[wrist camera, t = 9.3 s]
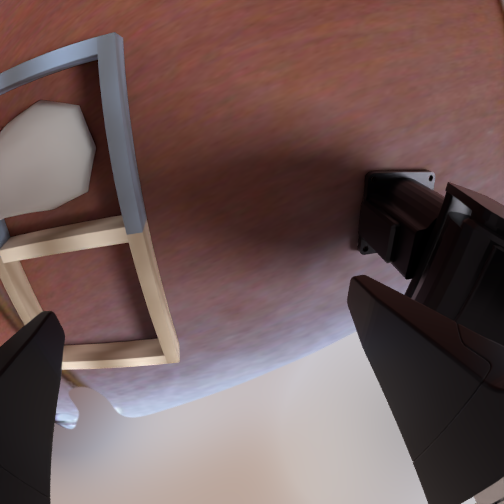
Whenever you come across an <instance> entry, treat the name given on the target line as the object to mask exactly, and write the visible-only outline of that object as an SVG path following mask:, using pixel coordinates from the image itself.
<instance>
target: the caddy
mask: <svg viewBox="0 0 504 504" xmlns="http://www.w3.org/2000/svg"><path fill="white" fill-rule="evenodd" d="M95 60H98V67H99V79H100V89H101V98H102V107H103V115H104V122H105V129H106V136H107V142H108V148H109V154H110V160H111V165H112V171H113V176H114V181H115V186H116V191H117V195H118V200H119V205H120V209H121V213H122V215H120V216H114V217H108V218H103V219H97V220H92V221H86V222H81V223H76V224H70V225H65V226H60V227H55V228H50V229H46V230H41V231H36V232H31V233H27V234H22V235H18V236H13V237H10V234H9V232H8V229H7V226H6V223H5V220H4V219H2V220H0V278H1V281H2V283H3V285H4V287H5V289H6V291H7V293H8V295H9V297H10V299H11V301H12V303H13V305H14V307H15V308H16V310H17V312H18V314H19V316H20V318H21V319H22V321H23V323H24V325H26V324H27V323H28V322H30V321H31V320H32V319H33V318H34V317H36V316H37V315H38V314H39V313H41V312H43V310H42V308H41V306H40V304H39V302H38V300H37V298H36V296H35V294H34V292H33V290H32V288H31V286H30V284H29V281H28V279H27V277H26V275H25V272H24V270H23V268H22V265H21V263H20V260H24V259H30V258H36V257H42V256H47V255H53V254H59V253H65V252H71V251H77V250H83V249H90V248H96V247H102V246H108V245H115V244H121V243H128V242H129V246H130V249H131V253H132V257H133V260H134V264H135V268H136V271H137V275H138V278H139V281H140V285H141V288H142V291H143V294H144V298H145V301H146V304H147V307H148V310H149V313H150V316H151V319H152V322H153V325H154V328H155V331H156V334H157V337H158V338H157V339H147V340H137V341H126V342H114V343H100V344H85V345H66V346H64V350H63V360H62V369H99V368H118V367H133V366H146V365H158V364H168V363H177V362H180V360H179V342H178V339H177V336H176V332H175V329H174V325H173V322H172V319H171V315H170V311H169V308H168V304H167V301H166V297H165V293H164V289H163V286H162V282H161V278H160V274H159V270H158V266H157V262H156V257H155V253H154V249H153V245H152V240H151V236H150V231H149V226H148V222H147V217H146V212H145V207H144V202H143V197H142V191H141V186H140V180H139V174H138V169H137V163H136V156H135V150H134V143H133V136H132V129H131V121H130V113H129V105H128V96H127V86H126V75H125V63H124V48H123V38H122V37H121V36H119V35H118V34H117V33H115V32H114V33H110V34H106V35H102V36H98V37H95V38H91V39H88V40H84V41H81V42H78V43H75V44H72V45H69V46H66V47H63V48H60V49H57V50H54V51H52V52H49V53H46V54H44V55H41V56H39V57H36V58H34V59H31V60H29V61H27V62H24V63H22V64H20V65H17V66H15V67H13V68H11V69H9V70H7V71H5V72H3V73H1V74H0V95H1V94H4V93H6V92H8V91H10V90H12V89H15V88H17V87H19V86H22V85H24V84H26V83H29V82H31V81H34V80H37V79H39V78H42V77H44V76H47V75H50V74H53V73H56V72H59V71H61V70H65V69H68V68H71V67H74V66H77V65H80V64H84V63H87V62H91V61H95Z"/></svg>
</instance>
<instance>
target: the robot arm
mask: <svg viewBox="0 0 504 504" xmlns="http://www.w3.org/2000/svg"><path fill="white" fill-rule="evenodd" d="M429 176H430V178H429ZM372 177H374V180H373V181H371V178H372ZM434 183H435V174H434V173H433V172H431V171H371V172H369V173H367V175H366V177H365V187H364V198H363V202H362V205H361V214H360V223H359V232H358V233H359V242H358V251H359V252H360V253H361V254H363V255H366V254H372V253H378V254H379V255H380V256H381V257H382V259H383V260H384V261H385V262H386V263H391V264H392V265H393V266H394V267H395V268H396V269H397V270H398V271H399V272H400V273H401V274H402V275H403V276H404V277H405V279H412V280H411V282H410V284H409V286H408V288H407V290H406V292H405V295H403V294H401V293H399V292H398V291H396V290H394V289H392V288H390V287H388V286H386V285H384V284H382V283H380V282H378V281H376V280H374V279H372V278H370V277H368V276H366V275H359V276H354V277H352V278H351V281H350V286H349V292H348V298H347V303H348V307H349V310H350V313H351V316H352V319H353V321H354V324H355V327H356V330H357V333H358V336H359V339H360V341H361V344H362V347H363V349H364V351H365V354H366V356H367V358H368V360H369V362H370V364H371V366H372V369H373V371H374V373H375V375H376V377H377V379H378V381H379V383H380V386H381V388H382V390H383V393H384V395H385V397H386V399H387V402H388V404H389V406H390V408H391V411H392V413H393V415H394V418H395V420H396V422H397V425H398V427H399V429H400V432H401V434H402V437H403V439H404V441H405V444H406V446H407V449H408V451H409V454H410V456H411V459H412V461H414V462H413V464H414V467H415V469H416V472H417V475H418V477H419V480H420V482H421V485H422V487H423V490H424V493H425V496H426V499H427V501H428V504H461V503H463V502H464V501H466V500H468V499H470V498H472V497H473V496H474V498H475V500H476V502H477V503H475V504H504V206H503V205H502V204H500V203H498V202H496V201H495V200H493V199H491V198H489V197H487V196H485V195H482V194H480V193H477V192H475V191H472V190H469V189H467V188H464V187H461V186H458V185H455V184H453V183H450V182H448V184H447V187H446V191H447V192H446V195H445V197H444V196H442V195H441V194H439V193H437V192H435V191H434V190H433V189H434ZM365 246H366V248H365V249H363V248H364V247H365ZM64 341H65V334H64V330H63V328H62V326H61V324H60V323H59V321H58V319H57V317H56V315H55V313H54V312H52V311H43V312H41V313H39V314H38V315H37V316H36V317H34V318H33V319H32V320H31V321H30V322H28V323H27V324H26V325H25V326H24V327H23V328H21V329H20V330H19V331H18V332H17V333H16V334H14V335H13V336H12V337H11V338H10V339H9V340H8V341H6V342H5V343H4V344H3V345H2V346H1V347H0V504H50V475H51V454H52V442H53V432H54V423H55V415H56V407H57V400H58V394H59V387H60V381H61V371H62V360H63V350H64Z"/></svg>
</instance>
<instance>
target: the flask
mask: <svg viewBox="0 0 504 504" xmlns="http://www.w3.org/2000/svg"><path fill="white" fill-rule="evenodd" d="M95 150H96V146H95V143H94V141H93V139H92V136H91V134H90V131H89V129H88V126H87V124H86V121H85V119H84V116H83V114H82V111H81V109H80V106H79V105H73V104H67V103H60V102H53V101H46V100H39V101H38V102H36V103H35V104H33V105H32V106H31V107H29V108H28V109H26V110H25V111H23V112H22V113H21V114H19V115H18V116H17V117H15V118H14V119H13V120H11V121H10V122H9V123H8V124H7V125H6V126H5V127H4V128H3V130H2V131H1V132H0V220H2V219H4V218H7V217H12V216H16V215H21V214H26V213H31V212H39V211H47V210H53V209H56V208H58V207H59V206H61V205H63V204H65V203H67V202H69V201H71V200H73V199H74V198H76V197H78V196H80V195H82V194H84V193H86V192H88V189H89V183H90V177H91V171H92V166H93V160H94V155H95Z"/></svg>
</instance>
